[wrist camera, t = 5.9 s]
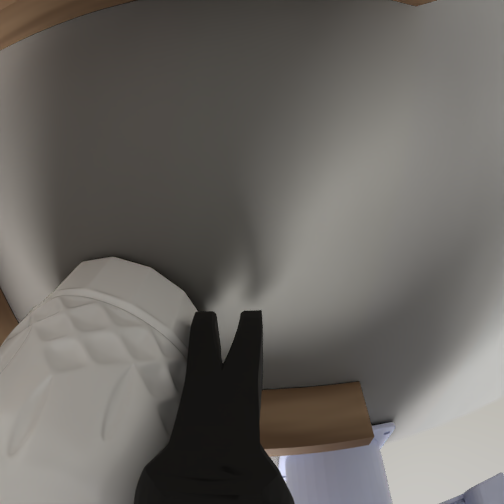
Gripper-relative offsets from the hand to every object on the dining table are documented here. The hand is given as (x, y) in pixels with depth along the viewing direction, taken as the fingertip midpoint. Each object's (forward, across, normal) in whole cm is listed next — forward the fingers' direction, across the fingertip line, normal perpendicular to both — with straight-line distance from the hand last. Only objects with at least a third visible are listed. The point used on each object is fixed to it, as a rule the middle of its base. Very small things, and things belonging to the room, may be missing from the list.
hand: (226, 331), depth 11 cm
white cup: (+1, +4, +1) cm, 4 cm away
